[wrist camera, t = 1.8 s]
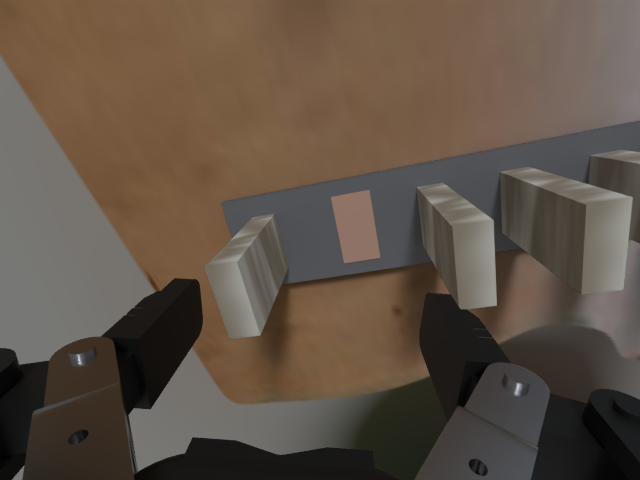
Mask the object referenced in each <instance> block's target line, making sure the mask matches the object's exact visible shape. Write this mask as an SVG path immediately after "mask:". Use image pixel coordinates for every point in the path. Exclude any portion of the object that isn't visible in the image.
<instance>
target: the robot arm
mask: <svg viewBox="0 0 640 480" xmlns="http://www.w3.org/2000/svg"><path fill="white" fill-rule="evenodd" d="M202 324H203V315H202V304H201V293H200V285H199V282H198V280H196V279H179V278H175V279H173V280H172V281H171V282H170V283H169V284H168V285H167V286H166V287H165V288H164V289H163V290H161V291H157V292H155V293H153V294H151V295H150V296H148V297H145V298H144V299H143V300H141V302H139V303H138V304H137V305H136V306H135V308H132V309H131V310H130V311H129V312H128V313H127V315H125V316H123V317H122V318H121V319H120V320H119V321H118V322H117V323H116V324H114V325H113V326H112V327H111V328H110V329H109V330H108V331H107V332H106V333H104V334H103V335H102V336H101V337H90V338H85V339H81V340H78V341H75V342H72V343H70V344H68V345H66V346H64V347H62V348H61V349H60V350H58V351H57V352H55V353H54V354H53V356H52V357H51V358H50V360H49V361H43V362H36V363H29V364H22V365H19V363H18V360H17V357H16V353H15V352H14V351H13V350H11V349H6V348H0V480H12V479H13V478H14V476H15V475H16V474H17V473H18V472H19V470H20V469H21V468H22V467H23V466H24V472H23V479H22V480H400V479H398V478H396V477H395V476H393V475H391V474H389V473H387V472H385V471H383V470H380V469H378V468H375V467H374V461H373V452H372V451H367V450H355V449H341V448H321V449H316V450H310V451H304V452H298V453H292V454H286V455H277V454H274V453H271V452H268V451H265V450H262V449H259V448H256V447H253V446H250V445H247V444H245V443H242V442H239V441H235V440H221V439H208V438H194V437H193V438H192V440H191V442H190V444H189V446H188V449H187V451H186V453H185V454H180V455H176V456H172V457H169V458H166V459H163V460H161V461H158V462H156V463H154V464H152V465H150V466H148V467H146V468H144V469H142V470H140V471H139V472H138V468H137V463H136V457H135V451H134V446H133V439H132V433H131V427H130V421H129V416H128V415H129V414H130V412H131V411H132V410H133V408H141V409H151V408H152V406H153V405H154V403H155V402H156V400H157V398H158V397H159V396H160V394H161V393H162V391H163V389H164V388H165V387H166V385H167V384H168V382H169V381H170V379H171V377H172V376H173V374H174V373H175V371H176V370H177V368H178V367H179V365H180V364H181V362H182V361H183V359H184V358H185V356H186V355H187V353H188V352H189V350H190V349H191V347H192V346H193V344H194V343H195V341H196V340H197V338H198V337H199V335H200V333H201V329H202ZM420 348H421V352H422V354H423V357H424V360H425V363H426V365H427V368H428V371H429V374H430V376H431V379H432V382H433V385H434V387H435V390H436V393H437V396H438V398H439V401H440V404H441V407H442V409H443V412H444V414H445V417H446V420H447V425H446V427H445V429H444V430H443V432H442V434H441V435H440V437H439V439H438V441H437V442H436V444H435V446H434V448H433V449H432V451H431V453H430V454H429V456H428V458H427V460H426V461H425V463H424V465H423V466H422V468H421V470H420V471H419V473H418V475H417V476H416V478H415V480H640V400H639V399H637V398H634V397H632V396H630V395H627V394H625V393H622V392H619V391H615V390H609V389H598V390H594V391H593V392H591V394H590V396H589V399H588V402H587V403H583V402H579V401H576V400H572V399H568V398H565V397H561V396H557V395H555V394H552V393H550V392H549V388H548V387H547V385H546V384H545V382H543V380H542V379H541V378H539V377H538V376H537V375H535V374H534V373H532V372H531V371H529V370H527V369H525V368H523V367H520V366H518V365H515V364H512V363H511V362H510V361H509V359H508V358H507V357H506V355H505V354H504V352H503V351H502V350H501V348H500V347H499V345H498V344H497V343H496V341H495V340H494V339H492V336H491V334H490V333H489V332H488V330H486V327H485V326H484V325H483V323H482V322H481V321H480V319H479V318H478V317H476V316H475V315H474V314H472V313H471V312H469V311H468V310H467V309H460V308H459V306H458V305H457V303H456V302H455V300H454V299H453V297H452V296H451V295H450V294H437V293H427V295H426V297H425V302H424V309H423V315H422V321H421V328H420Z"/></svg>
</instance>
